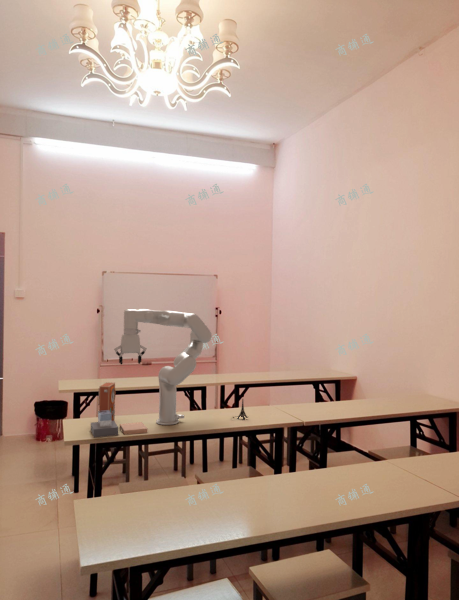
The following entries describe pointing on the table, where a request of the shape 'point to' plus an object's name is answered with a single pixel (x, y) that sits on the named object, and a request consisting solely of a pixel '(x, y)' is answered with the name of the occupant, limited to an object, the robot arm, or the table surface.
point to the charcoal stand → (104, 429)
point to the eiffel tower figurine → (242, 412)
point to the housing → (104, 418)
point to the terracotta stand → (133, 428)
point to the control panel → (107, 398)
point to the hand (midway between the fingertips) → (130, 363)
